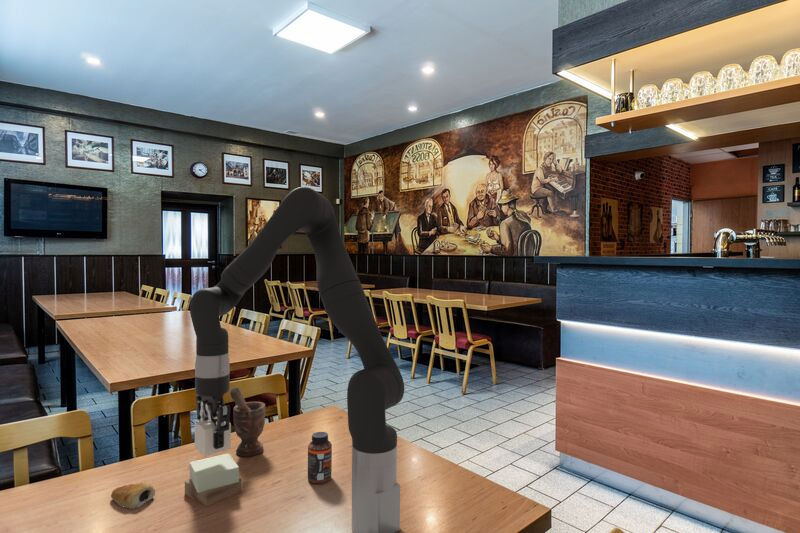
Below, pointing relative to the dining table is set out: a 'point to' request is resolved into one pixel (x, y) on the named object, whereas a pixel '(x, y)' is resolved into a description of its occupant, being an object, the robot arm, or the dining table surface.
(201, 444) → the cream block
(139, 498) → the pastry
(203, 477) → the upper block
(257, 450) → the mortar and pestle
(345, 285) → the robot arm
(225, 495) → the lower block
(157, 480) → the dining table surface
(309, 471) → the supplement bottle
